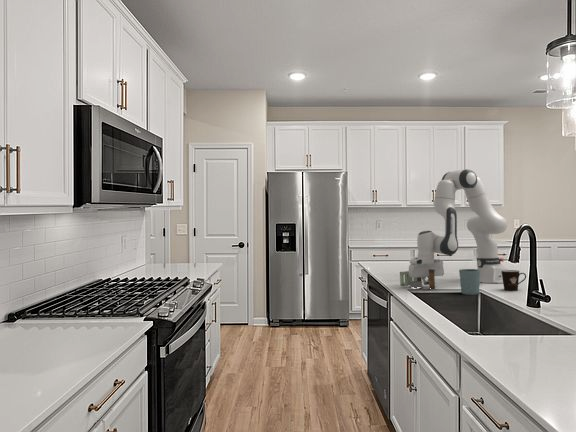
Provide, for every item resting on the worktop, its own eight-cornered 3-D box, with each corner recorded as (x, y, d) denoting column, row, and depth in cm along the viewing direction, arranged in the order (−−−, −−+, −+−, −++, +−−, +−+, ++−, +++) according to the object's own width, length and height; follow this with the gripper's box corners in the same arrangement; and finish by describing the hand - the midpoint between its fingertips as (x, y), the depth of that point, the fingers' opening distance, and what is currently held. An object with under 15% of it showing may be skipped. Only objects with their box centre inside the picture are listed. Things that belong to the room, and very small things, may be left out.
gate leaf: (417, 284, 274) (416, 270, 274) (402, 286, 270) (401, 272, 270) (415, 284, 276) (414, 270, 276) (400, 286, 272) (399, 271, 272)
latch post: (432, 288, 266) (431, 268, 266) (437, 289, 260) (436, 269, 260) (426, 288, 265) (425, 269, 265) (431, 290, 260) (430, 270, 260)
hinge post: (420, 285, 278) (419, 266, 278) (423, 286, 274) (422, 267, 274) (415, 285, 277) (414, 267, 277) (418, 286, 274) (417, 267, 274)
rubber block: (418, 288, 269) (417, 280, 269) (422, 289, 265) (421, 281, 265) (410, 288, 268) (410, 281, 268) (414, 289, 264) (414, 282, 264)
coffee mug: (501, 290, 250) (500, 271, 250) (502, 288, 257) (501, 269, 257) (526, 291, 244) (525, 272, 244) (526, 289, 252) (526, 270, 252)
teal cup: (458, 294, 244) (457, 270, 244) (461, 291, 253) (460, 268, 253) (479, 295, 239) (479, 271, 239) (482, 292, 248) (481, 268, 248)
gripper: (439, 258, 273) (440, 282, 273) (406, 260, 269) (407, 285, 269) (445, 259, 267) (446, 284, 267) (412, 261, 263) (413, 286, 263)
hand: (426, 284), depth 268 cm, fingers closed
